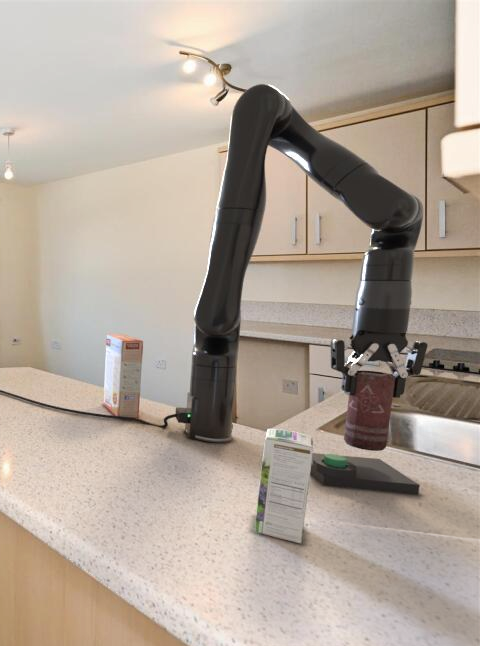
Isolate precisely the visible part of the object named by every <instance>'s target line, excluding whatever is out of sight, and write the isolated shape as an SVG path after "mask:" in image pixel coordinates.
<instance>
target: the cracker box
mask: <svg viewBox="0 0 480 646" xmlns="http://www.w3.org/2000/svg"><path fill="white" fill-rule="evenodd" d="M105 344H106V345H105V365H104V383H103V385H104V387H103V402H102V403H103V405H104V406H105V407H106V408H107V410H109V412H111V413H112V414H113V416H122V417H130V418H136V419H140V418H139V417H140V403H141V402H140V400H141V385H142V367H143V354H144V353H143V352H144V340H141V339H138V338H136V337H133V336H130V335H126V334H121V333H120V334H119V333H117V334H114V333H113V334H106V343H105Z"/></svg>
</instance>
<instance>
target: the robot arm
mask: <svg viewBox="0 0 480 646" xmlns="http://www.w3.org/2000/svg"><path fill="white" fill-rule="evenodd" d="M229 125H230V126H229V135H228V136H229V137H228V146H227V147H228V148H227V154H226V155H227V156H226V161H225V167H224V170H223V174H222V180H221V183H220V189H219V194H218V199H217V203H216V206H215V212H214V216H213V221H212V226H211V232H210V237H209V238H210V240H209V248H208V258H207V260H208V262H207V269H206V274H205V277H204V281H203V284H202V287H201V289H200V290H201V291H200V294H199V296H198V299H197V303H196V305H195V308H194V310H193V321H194V323H195V324H194V337H193V346H192V352H191V364H190V365H191V368H190V381H189V391H188V392H187V396H186V407H180V406H179V407H176V406H175V413H172V414H170V415H166V416H165V417H164V418H163V424H162V425H161V424H160V425H159V424H153V423H151V422H149V421H146V420H143V419H141V418H130V417H122V416H116V415H111V414H104V413H103V414H102V413H95V412H88V411H81V410H75V409H71V408H70V409H69V408H66V407H60V406H56V405H52V404H47V403H44V402H40V401H36V400H34V399H30V398H26V397H24V396H21V395H18V394H14V393H11V392H8V391H5V390H2V389H0V393H2V394H5V395H7V396H10V397H14V398H16V399H20V400H23V401H25V402H28V403H32V404H35V405H39V406H43V407H46V408H50V409H54V410H57V411H62V412H68V413H74V414H79V415H84V416H92V417H99V418H106V419H116V420H125V421H131V422H137V423H141V424H144V425H149V426H153V427H158V428H162V429H165V428H167V427H168V426H169V423H168V420H169V419H174V418H175V419H176V421H177V423H179V424H185V425H184V431H185V433H186V435H187V437H188V439H191V440H192V439H193V440H198V441H202V442H208V443H215V444H217V443H220V444H221V443H228V442H231V441H232V438H233V434H232V433H233V429H234V424H233V419H234V409H235V407H234V406H235V395H236V394H235V393H236V382H237V371H238V358H239V348H240V335H241V324H242V323H241V322H242V309H241V308H242V307H241V306H242V298H243V297H242V295H243V289H244V281H245V276H246V273H247V269H248V266H249V265H250V261H251V260H252V256H253V255H254V252H255V249H256V246H257V242H258V240H259V237H260V233H261V229H262V225H263V220H264V218H265V217H264V215H265V211H266V206H267V205H266V204H267V180H266V179H267V178H266V155H267V151H268V147H270V148H273V149H275V150H276V151H278V152H280V153H281V154H283V155H284V156H286V157H287V158H289V159H290V160H291V161H292V162H293V163H294V164H295V165H297V167H298V168H299V169H301V171H302V172H303V173H304V174H305V175H306V176H307V177H309V179H311V180H312V181H313V182H314V183H315V184H317V185H318V186H319V187H320V188H322V189H323V190H324V191H325V192H327V193H328V194H329V195H330V196H332V197H333V198H334V199H336V200H337V201H339V202H341V203H342V204H343V205H344V206H345V207H346V208H347V210H349V211H350V212H351V213H352V214H353V215H354V216H355V217H356V218H358V219H359V220H360V221H361V222H362V223H363V224H364V225H366V226H367V227H368V228H370V232H371V233H370V237H369V244H368V248H367V249H366V250H365V251H364V253H363V256H362V257H361V263H360V273H359V281H358V284H357V285H358V286H357V289H356V294H355V302H354V311H353V319H352V332H351V336H349V337H348V338H331V339H330V368H331V369H332V370H334V371H336V372H339V373H341V374H342V378H341V387H340V388H341V391H343V393H344V394H345V395H347V396H349V395H354V394H355V385H356V377H357V376H354V375H355V374H356V372H357V371H360V368H361V367H363V366H365V365H366V363H367V362H378V361H379V362H383V363H385V365H387V366H388V368H389V370H390V372H391V374H393V375H394V376H395V387H394V391H393V398H396V399H400V398H401V396H403V395H404V393H405V388H406V381H407V378H408V377H410V376H418V375H420V374H421V372H422V369H423V365H424V362H425V358H426V353H427V349H428V346H429V345H428V343H427V342H424V341H420V340H408V339H407V336H406V335H407V332H408V327H409V321H410V319H409V318H410V312H411V305H412V295H413V290H412V282H413V281H412V280H413V273H414V264H415V251H416V247H417V245H418V241H419V237H420V233H421V229H422V225H423V220H424V212H425V211H424V205H423V202H422V201H421V199H420V198H419V197H418V196H416V195H414V194H413V193H409V192H408V191H406V190H405V189H403V188H401V187H400V186H398V185H397V184H395V183H394V182H393V181H390V180H389V179H387V178H386V177H384V176H382V175H381V174H380V173H379V171H378V170H377V169H376V168H375V167H374V166H372V164H370V163H369V162H367V161H366V160H364V159H363V158H362V157H361V156H359V155H357V154H356V153H354V152H353V150H352V151H351V150H350V149H348V148H347V147H346V146H345V145H342V144H340V143H339V142H337V141H335V140H333V139H332V138H329V137H328V136H327V135H324V134H323V133H321V132H319V130H317V129H316V128H315V127H313V126H312V125H311V124H309V123H308V122H307V121H306V120H305V118H304V117H302V115H301V114H300V113H299V112H298V111H297V109H296V108H295V107H294V106H293V104H292V103H291V101H290V99H289V98H288V97H287V96H286V95H285V94H284V93H283V92H282V91H280V90H279V89H278V88H276V87H275V86H273V85H270V84H266V83H258V84H255V85H253V86H250V87H249V88H248V89H246V90H245V91H244V92H243V93H242V94H241V95H240V96H239V98H238V99H237V100H236V103H235V104H234V107H233V109H232V112H231V115H230V124H229ZM349 346H350V347H351V348H352V350H353V351H352V352H351V354H350V355H349V357H348V358H347V362H346V363H345V361H346V359H345V357H346V356H345V353H346V351H347V350H348V348H349ZM404 349H406V352H407V356H406V360H405V362H404V360H403V358H402V357H401V354H400V353H401V352H402V351H403V350H404Z"/></svg>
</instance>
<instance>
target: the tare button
mask: <svg viewBox="0 0 480 646" xmlns="http://www.w3.org/2000/svg"><path fill="white" fill-rule="evenodd" d="M324 454H325V455H324V464H327V465H330V466H334V467H342V468H344V467H346V461H347V459H346V458H345V457H343V456H344V455H339V454H336V453H335V454H334V453H324Z"/></svg>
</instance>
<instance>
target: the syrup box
mask: <svg viewBox="0 0 480 646" xmlns="http://www.w3.org/2000/svg"><path fill="white" fill-rule="evenodd" d="M313 451H314V437H313V436H312V435H308V434H305V433H301V432H297V431H293V430H287V429H279V428H267V430H266V435H265V439H264V445H263V452H262V459H261V468H260V474H259V481H258V482H259V484H258V494H257V505H256V514H255V522H254V532H255V533H258V534H262V535H264V536H265V535H266V536H269V537H273V538H276V539H280V540H285V541H290V542H293V543H297V544H302V543H303V542H302V541H303V534H304V527H305V526H304V525H305V518H306V511H307V503H308V494H309V486H310V478H311V474H310V471H311V462H312V453H314V452H313Z"/></svg>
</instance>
